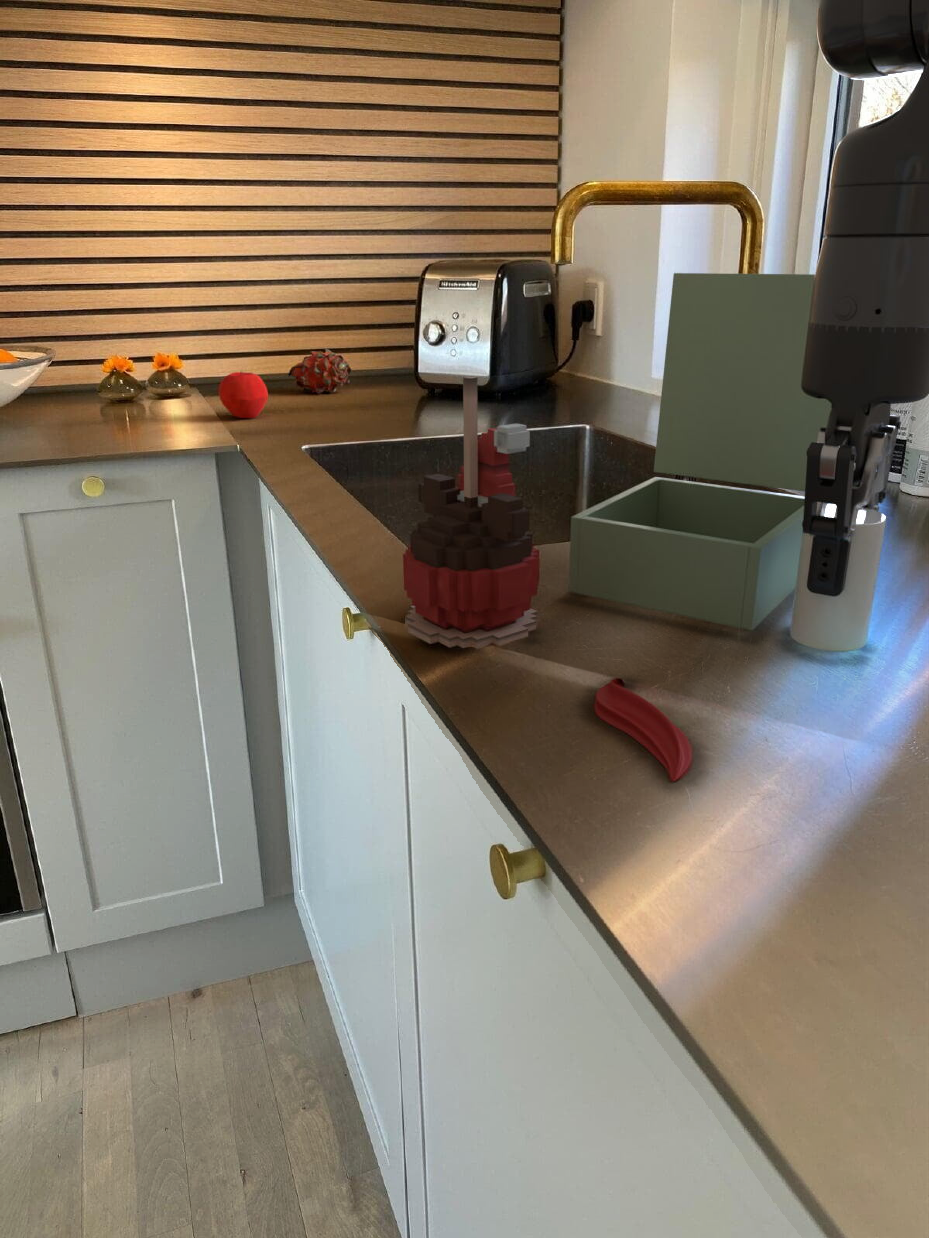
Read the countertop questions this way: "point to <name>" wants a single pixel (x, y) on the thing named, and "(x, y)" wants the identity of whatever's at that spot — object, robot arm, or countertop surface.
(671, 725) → the cayenne pepper
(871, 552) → the white cylinder
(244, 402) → the apple
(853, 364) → the robot arm
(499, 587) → the cake
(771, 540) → the bin
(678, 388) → the bin lid
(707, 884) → the countertop surface
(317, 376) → the dragon fruit
